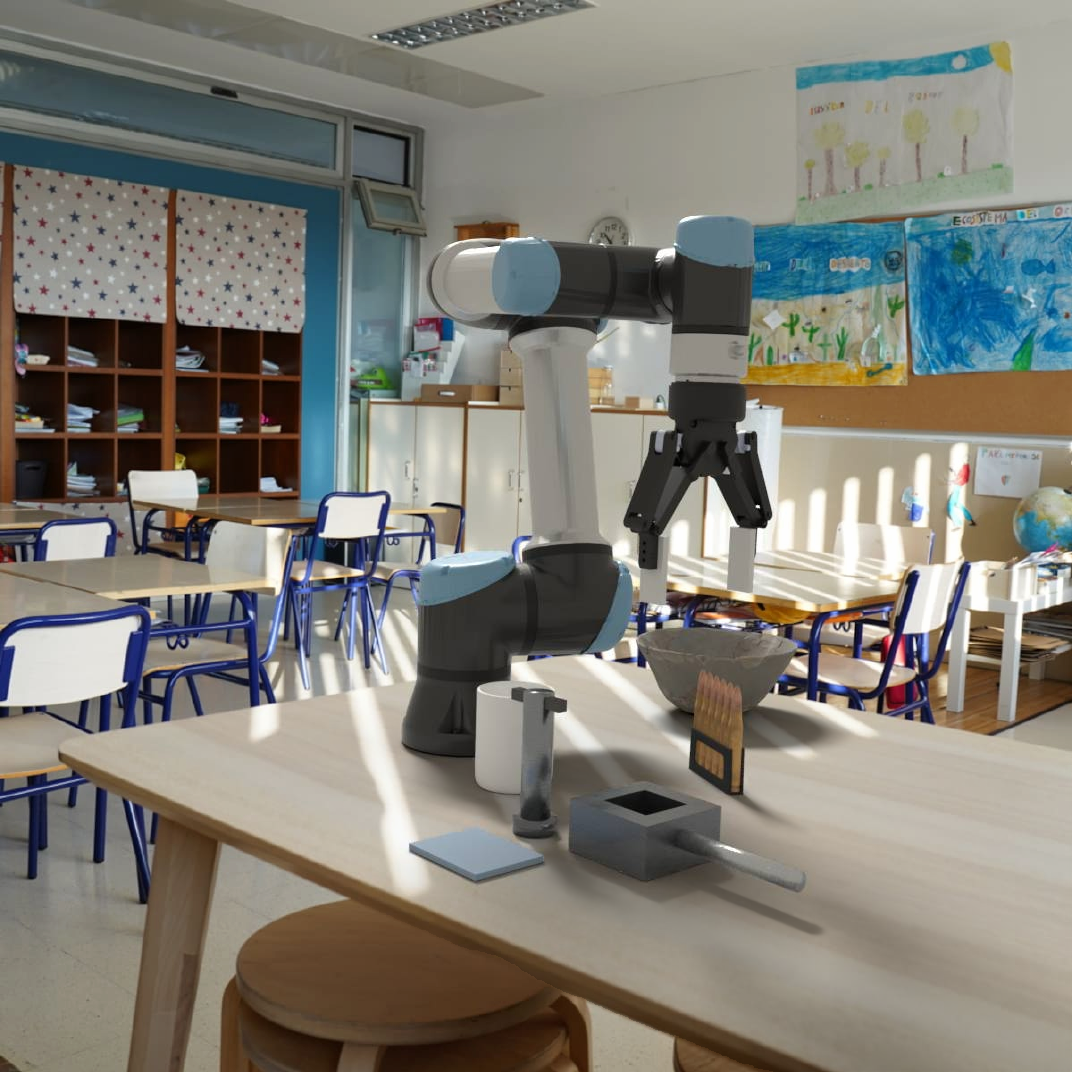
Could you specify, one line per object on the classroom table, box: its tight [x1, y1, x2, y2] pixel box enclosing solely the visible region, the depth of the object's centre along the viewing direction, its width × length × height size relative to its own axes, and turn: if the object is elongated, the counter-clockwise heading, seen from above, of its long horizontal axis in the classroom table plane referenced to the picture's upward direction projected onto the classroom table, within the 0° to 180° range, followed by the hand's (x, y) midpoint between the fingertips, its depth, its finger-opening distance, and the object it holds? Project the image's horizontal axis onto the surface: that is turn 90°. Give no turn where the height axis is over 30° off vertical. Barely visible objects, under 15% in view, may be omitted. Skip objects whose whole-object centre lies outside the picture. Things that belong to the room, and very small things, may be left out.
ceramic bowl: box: [635, 626, 798, 714], centre depth 179 cm, size 22×23×10 cm
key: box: [511, 687, 568, 840], centre depth 125 cm, size 7×4×14 cm, turn 41°
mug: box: [474, 680, 556, 795], centre depth 143 cm, size 9×12×11 cm
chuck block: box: [567, 780, 807, 894], centre depth 115 cm, size 23×10×5 cm, turn 41°
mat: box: [408, 826, 545, 882], centre depth 119 cm, size 10×8×1 cm
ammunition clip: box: [688, 669, 746, 796], centre depth 145 cm, size 11×2×12 cm, turn 17°
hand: (697, 597), depth 126 cm, fingers open, 13 cm apart
